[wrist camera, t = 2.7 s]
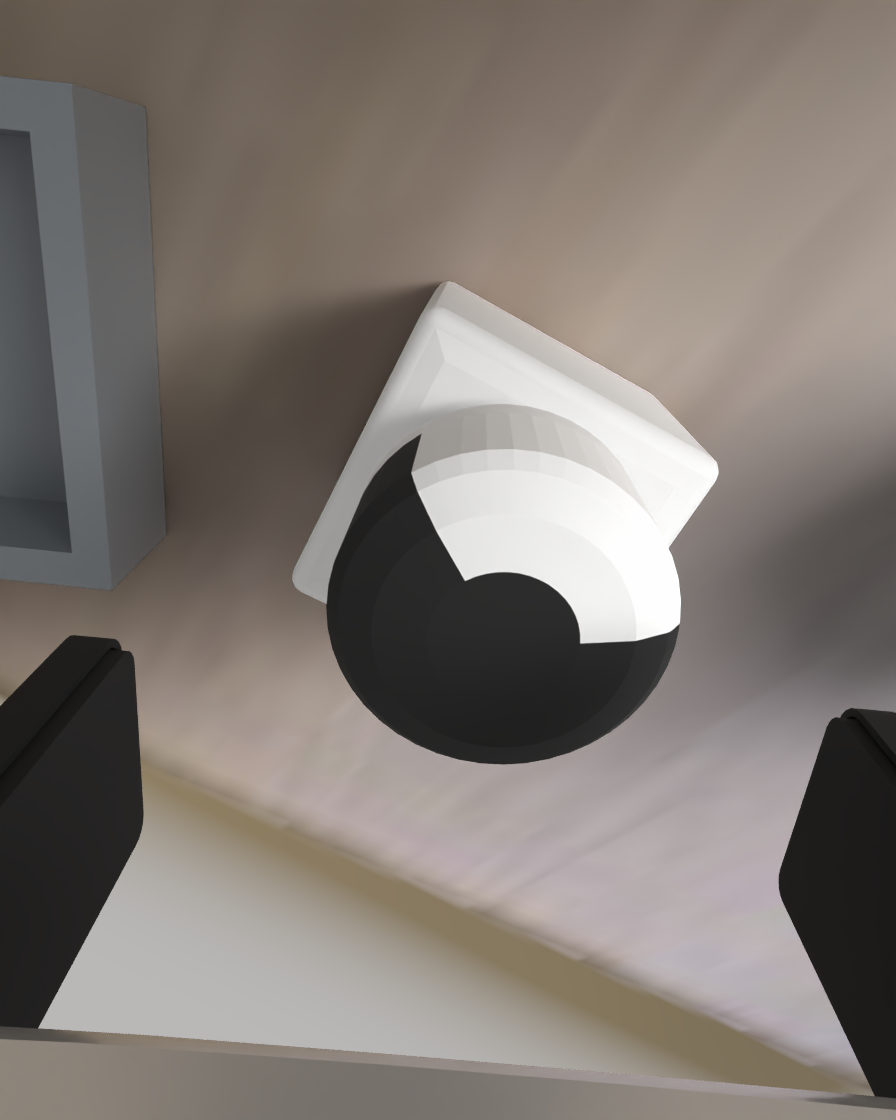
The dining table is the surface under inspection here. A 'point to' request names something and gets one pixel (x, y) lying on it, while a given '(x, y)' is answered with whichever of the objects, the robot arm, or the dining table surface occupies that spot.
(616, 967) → the dining table surface
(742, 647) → the dining table surface
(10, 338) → the end holder
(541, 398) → the medicine bottle
